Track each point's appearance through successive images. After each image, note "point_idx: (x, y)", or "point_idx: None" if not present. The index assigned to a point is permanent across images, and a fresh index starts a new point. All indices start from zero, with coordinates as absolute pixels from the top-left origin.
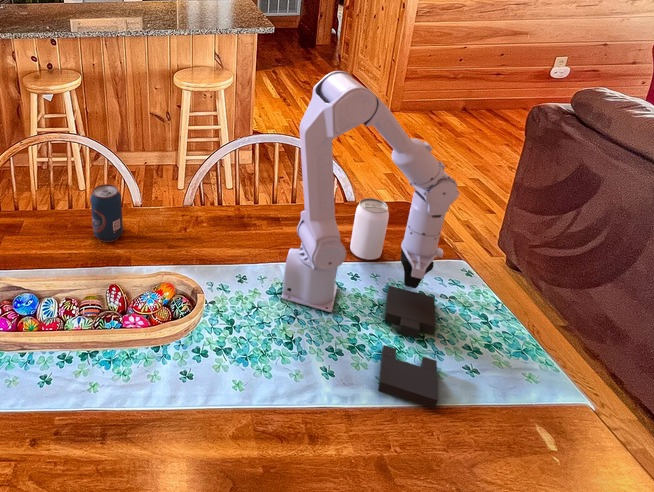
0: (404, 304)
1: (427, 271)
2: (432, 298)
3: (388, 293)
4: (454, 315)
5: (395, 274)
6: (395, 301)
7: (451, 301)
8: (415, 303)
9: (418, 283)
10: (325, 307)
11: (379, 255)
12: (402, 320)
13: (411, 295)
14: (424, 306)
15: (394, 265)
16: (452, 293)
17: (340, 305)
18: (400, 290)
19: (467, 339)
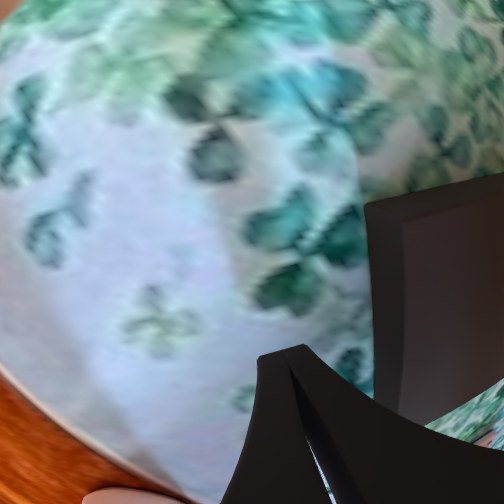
0: (500, 334)
1: (494, 455)
2: (422, 229)
3: (450, 411)
4: (376, 68)
5: (196, 432)
6: (491, 368)
7: (241, 97)
8: (488, 299)
9: (329, 367)
10: (487, 445)
11: (141, 502)
12: None
13: (439, 342)
14: (498, 252)
15: (127, 446)
16: (138, 113)
17: (466, 436)
18: (416, 395)
19: (482, 29)
